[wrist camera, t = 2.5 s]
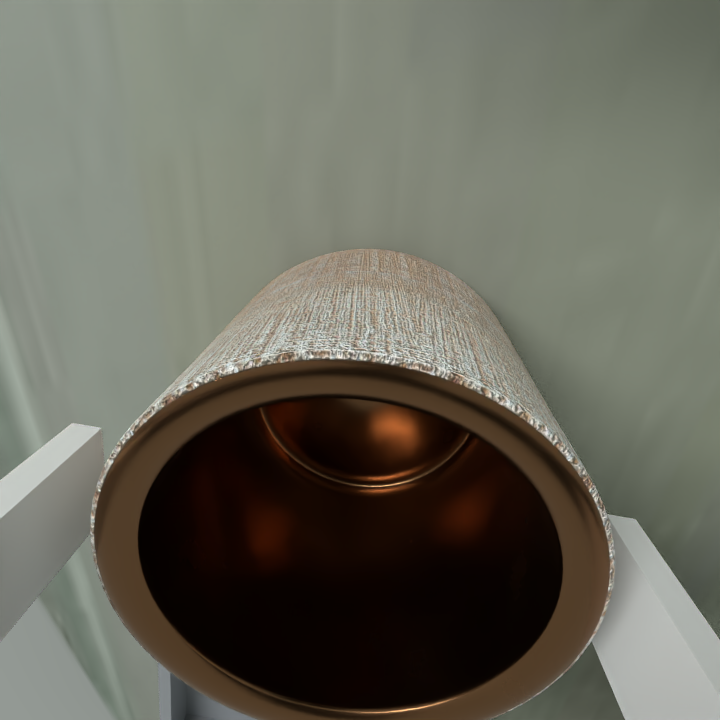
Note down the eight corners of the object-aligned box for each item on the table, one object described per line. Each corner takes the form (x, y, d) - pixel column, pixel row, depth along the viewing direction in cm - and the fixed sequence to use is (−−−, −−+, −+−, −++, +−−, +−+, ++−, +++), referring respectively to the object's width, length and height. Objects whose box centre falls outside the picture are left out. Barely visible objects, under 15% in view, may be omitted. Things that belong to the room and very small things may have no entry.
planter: (514, 481, 20) (611, 744, 11) (270, 503, 21) (180, 750, 12) (503, 220, 15) (644, 300, 7) (198, 268, 17) (-18, 388, 8)
